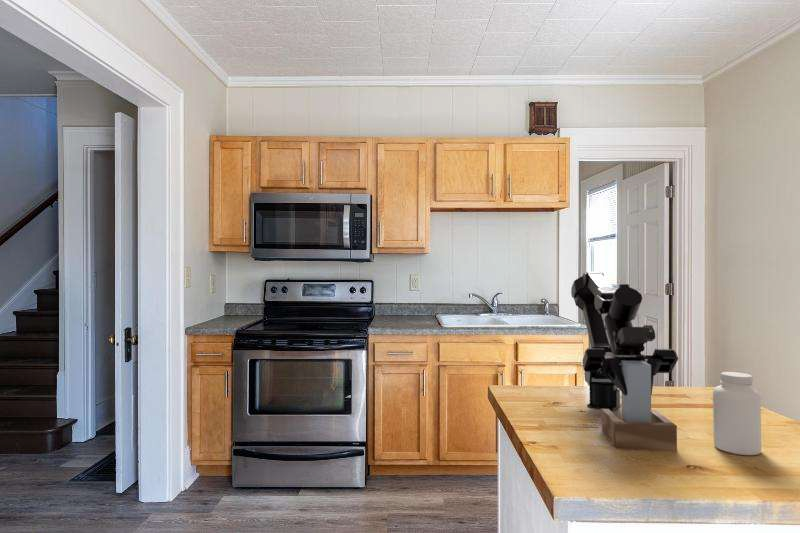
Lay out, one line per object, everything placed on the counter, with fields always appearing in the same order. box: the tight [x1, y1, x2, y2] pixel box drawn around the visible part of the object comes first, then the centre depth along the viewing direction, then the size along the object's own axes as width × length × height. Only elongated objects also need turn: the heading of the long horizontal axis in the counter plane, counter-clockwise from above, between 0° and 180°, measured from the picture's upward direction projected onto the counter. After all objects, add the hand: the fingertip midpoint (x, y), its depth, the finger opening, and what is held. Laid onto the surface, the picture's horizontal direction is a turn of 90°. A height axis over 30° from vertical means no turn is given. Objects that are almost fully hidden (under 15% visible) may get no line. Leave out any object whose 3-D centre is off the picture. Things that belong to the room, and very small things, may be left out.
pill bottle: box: [712, 371, 762, 456], centre depth 99 cm, size 8×8×15 cm
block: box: [621, 360, 652, 423], centre depth 105 cm, size 4×4×13 cm
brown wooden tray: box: [601, 409, 678, 452], centre depth 104 cm, size 11×12×5 cm
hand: (638, 394), depth 103 cm, fingers closed on block, 4 cm apart
